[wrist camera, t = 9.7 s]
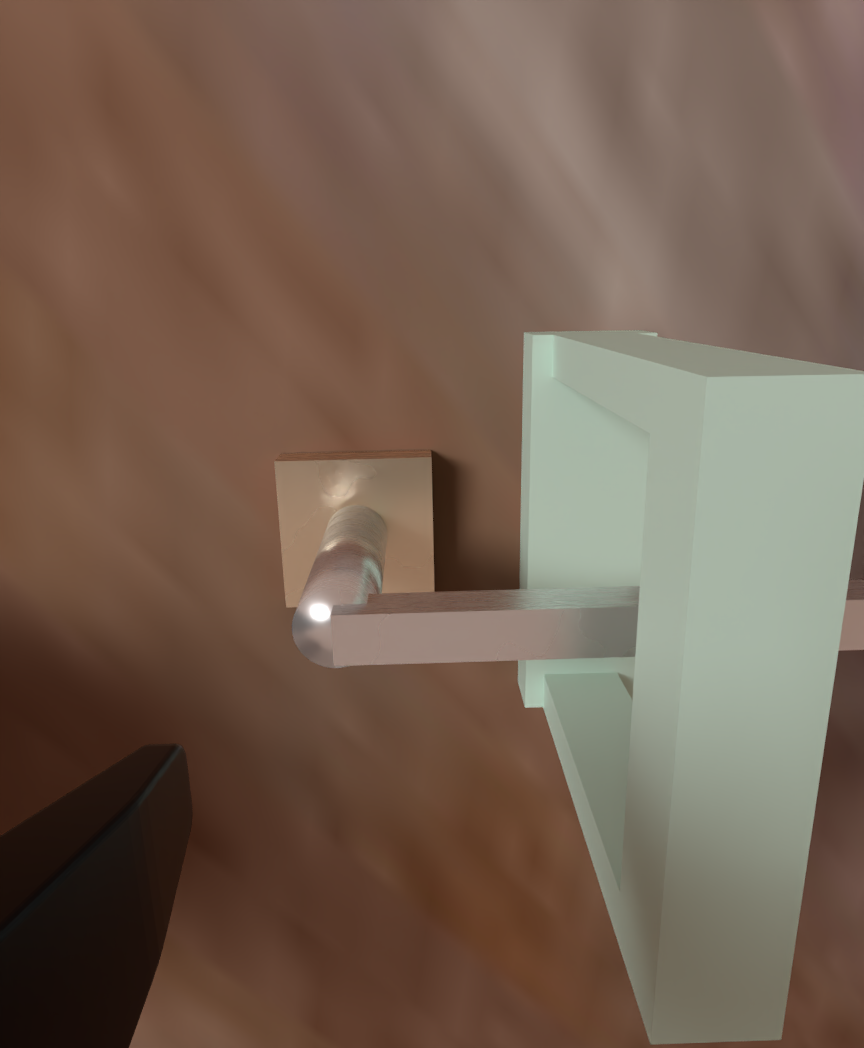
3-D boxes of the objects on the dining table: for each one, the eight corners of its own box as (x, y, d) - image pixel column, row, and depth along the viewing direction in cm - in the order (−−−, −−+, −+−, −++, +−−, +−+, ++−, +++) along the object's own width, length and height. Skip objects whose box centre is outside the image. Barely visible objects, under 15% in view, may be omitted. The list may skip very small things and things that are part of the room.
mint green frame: (619, 678, 23) (814, 1039, 12) (517, 681, 23) (618, 1045, 12) (639, 330, 20) (922, 373, 9) (523, 331, 20) (663, 378, 9)
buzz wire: (1006, 810, 24) (1389, 1000, 15) (242, 588, 22) (164, 660, 13) (1060, 646, 24) (1476, 739, 15) (300, 402, 21) (262, 341, 12)
